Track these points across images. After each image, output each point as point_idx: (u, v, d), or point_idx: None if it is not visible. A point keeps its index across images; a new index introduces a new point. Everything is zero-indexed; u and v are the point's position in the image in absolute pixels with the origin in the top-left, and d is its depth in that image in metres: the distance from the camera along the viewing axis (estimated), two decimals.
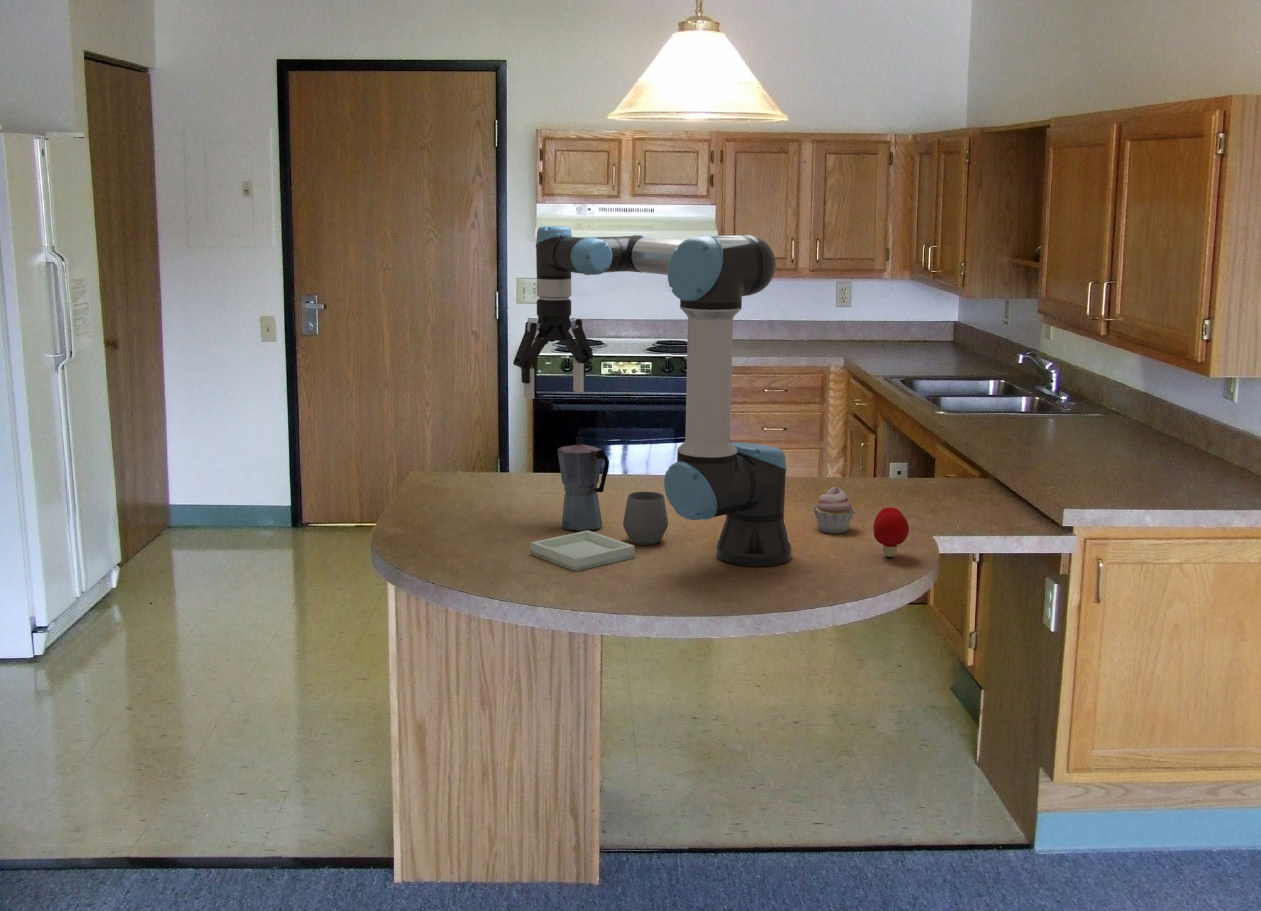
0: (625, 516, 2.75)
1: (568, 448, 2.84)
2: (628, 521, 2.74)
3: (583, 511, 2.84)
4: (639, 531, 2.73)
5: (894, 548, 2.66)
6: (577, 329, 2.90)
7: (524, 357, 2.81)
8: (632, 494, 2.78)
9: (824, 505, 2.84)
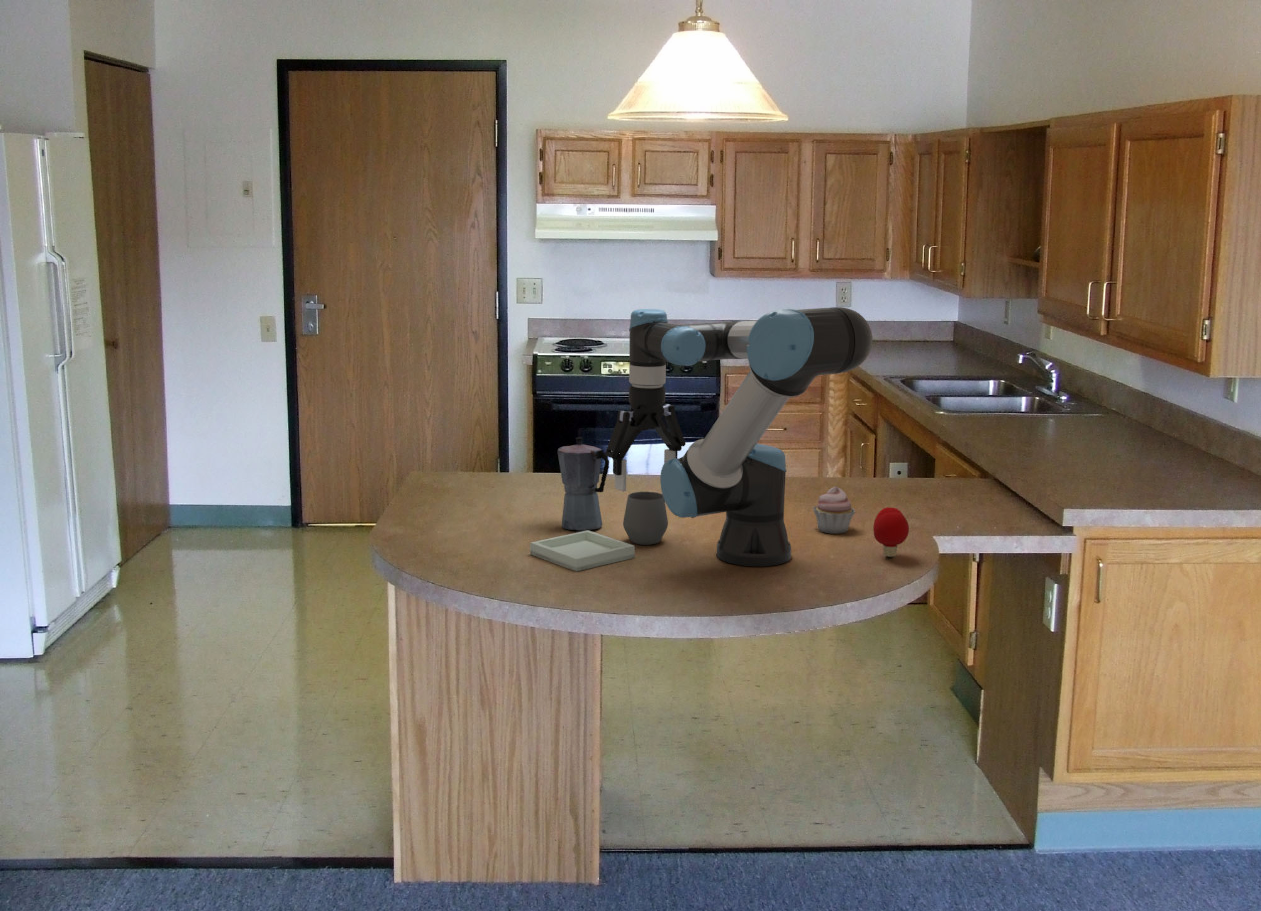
0: (625, 516, 2.75)
1: (568, 448, 2.84)
2: (628, 521, 2.74)
3: (583, 511, 2.84)
4: (639, 531, 2.73)
5: (894, 548, 2.66)
6: (670, 416, 2.75)
7: (617, 448, 2.67)
8: (632, 494, 2.78)
9: (824, 505, 2.84)
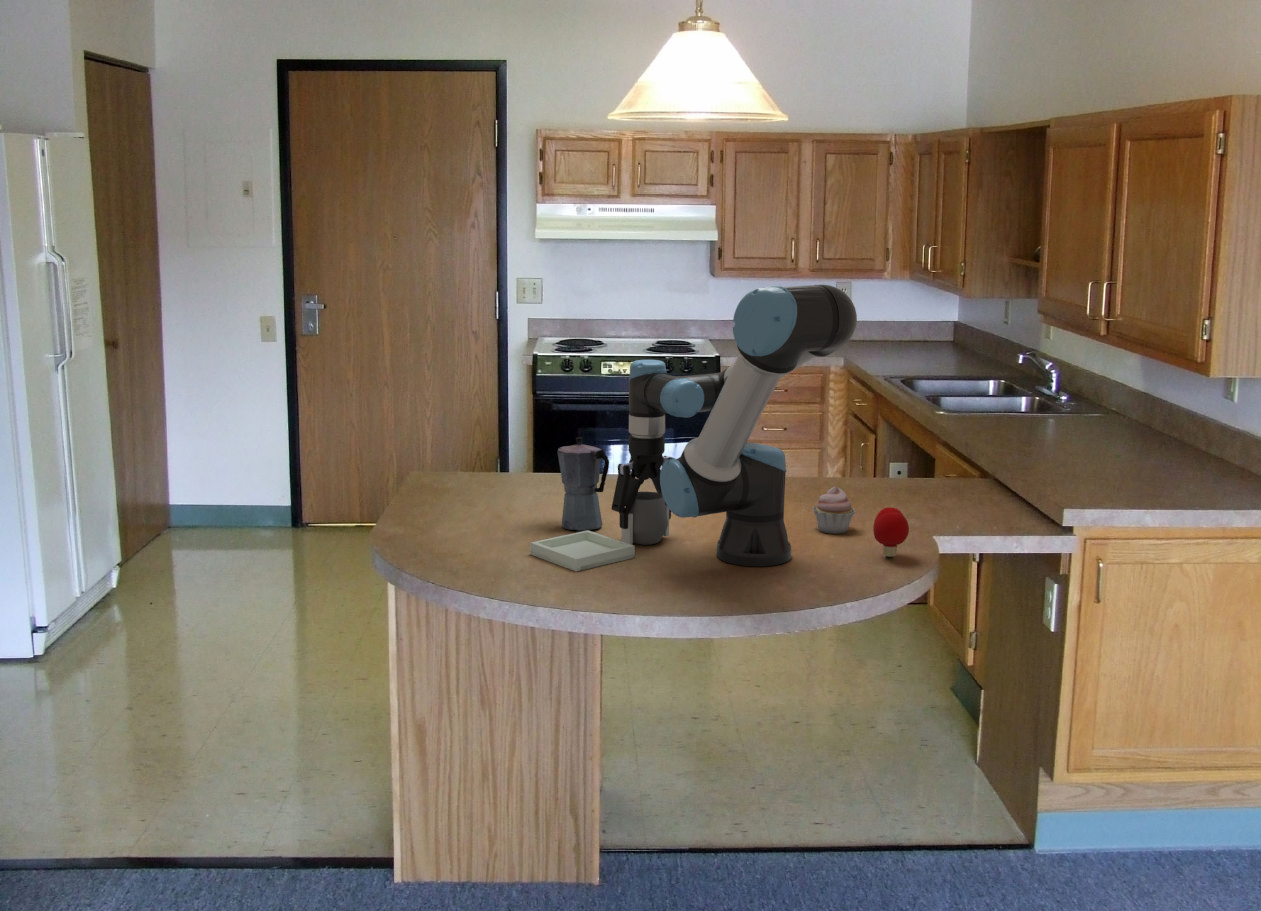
0: None
1: (568, 448, 2.84)
2: None
3: (583, 511, 2.84)
4: (639, 531, 2.73)
5: (894, 548, 2.66)
6: None
7: (622, 502, 2.70)
8: None
9: (824, 505, 2.84)
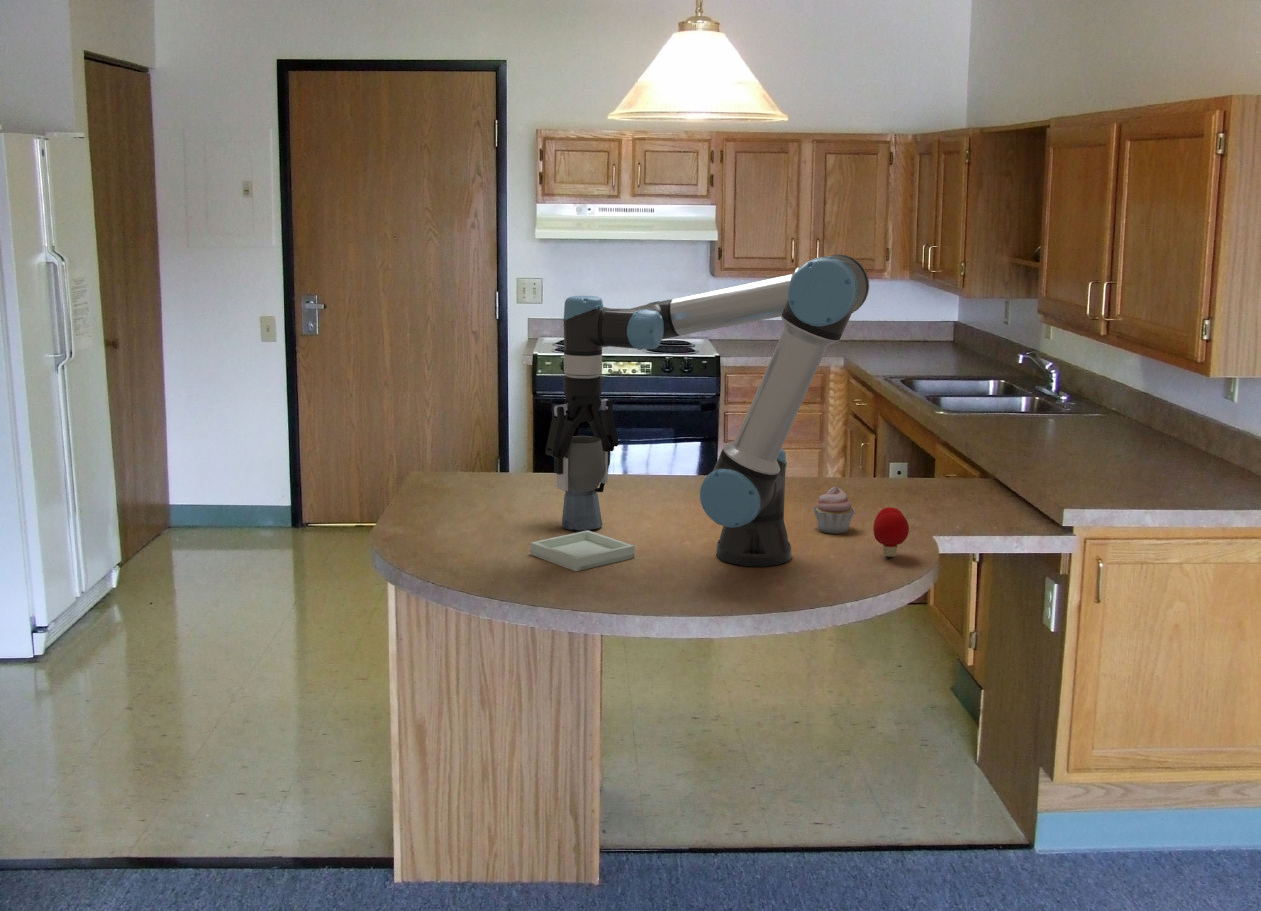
0: None
1: None
2: None
3: (583, 511, 2.84)
4: (574, 476, 2.59)
5: (894, 548, 2.66)
6: (606, 411, 2.64)
7: (556, 446, 2.56)
8: None
9: (824, 505, 2.84)
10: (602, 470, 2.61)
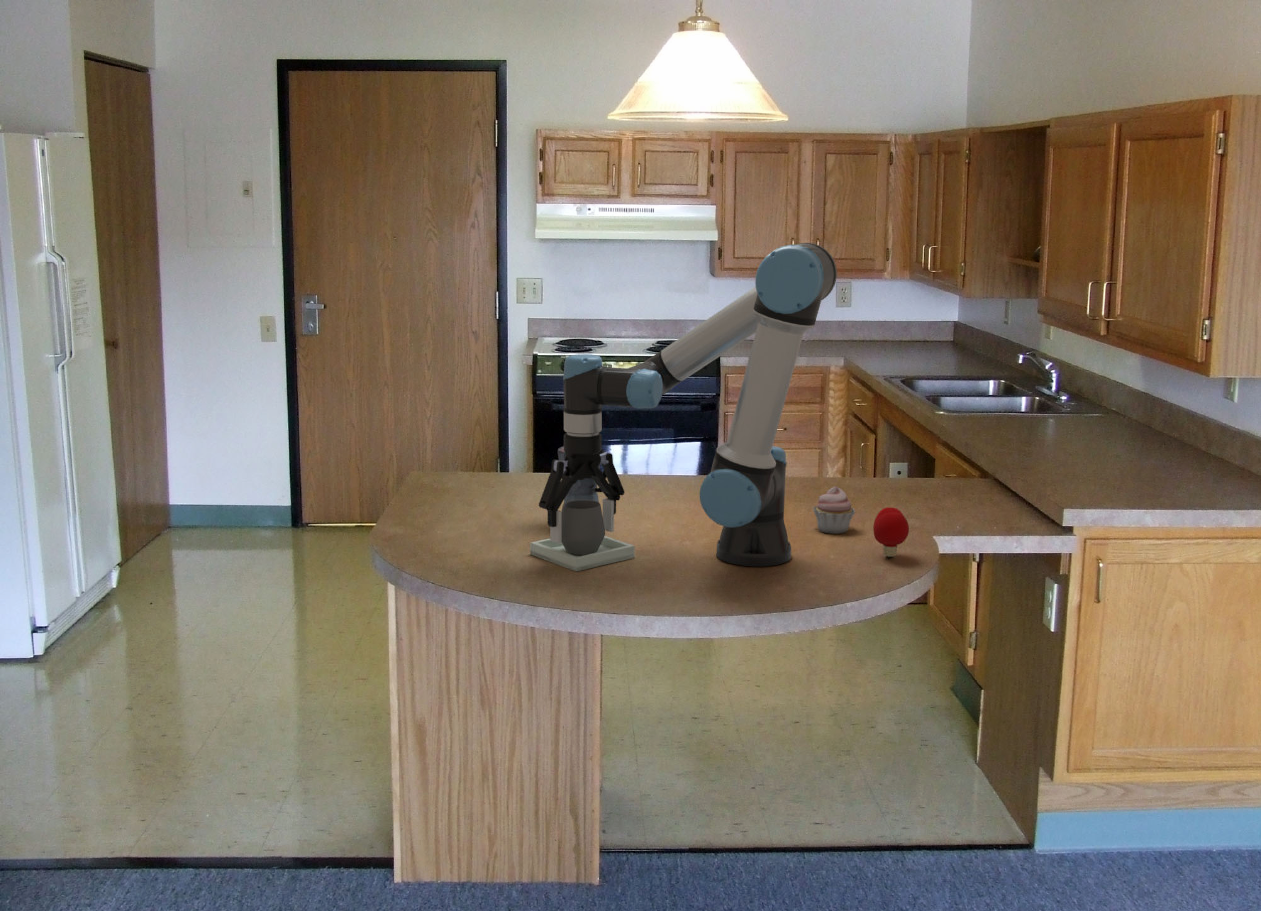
0: None
1: None
2: (563, 531, 2.63)
3: None
4: (574, 541, 2.62)
5: (894, 548, 2.66)
6: (607, 464, 2.66)
7: (551, 499, 2.58)
8: (568, 502, 2.67)
9: (824, 505, 2.84)
10: (602, 534, 2.64)
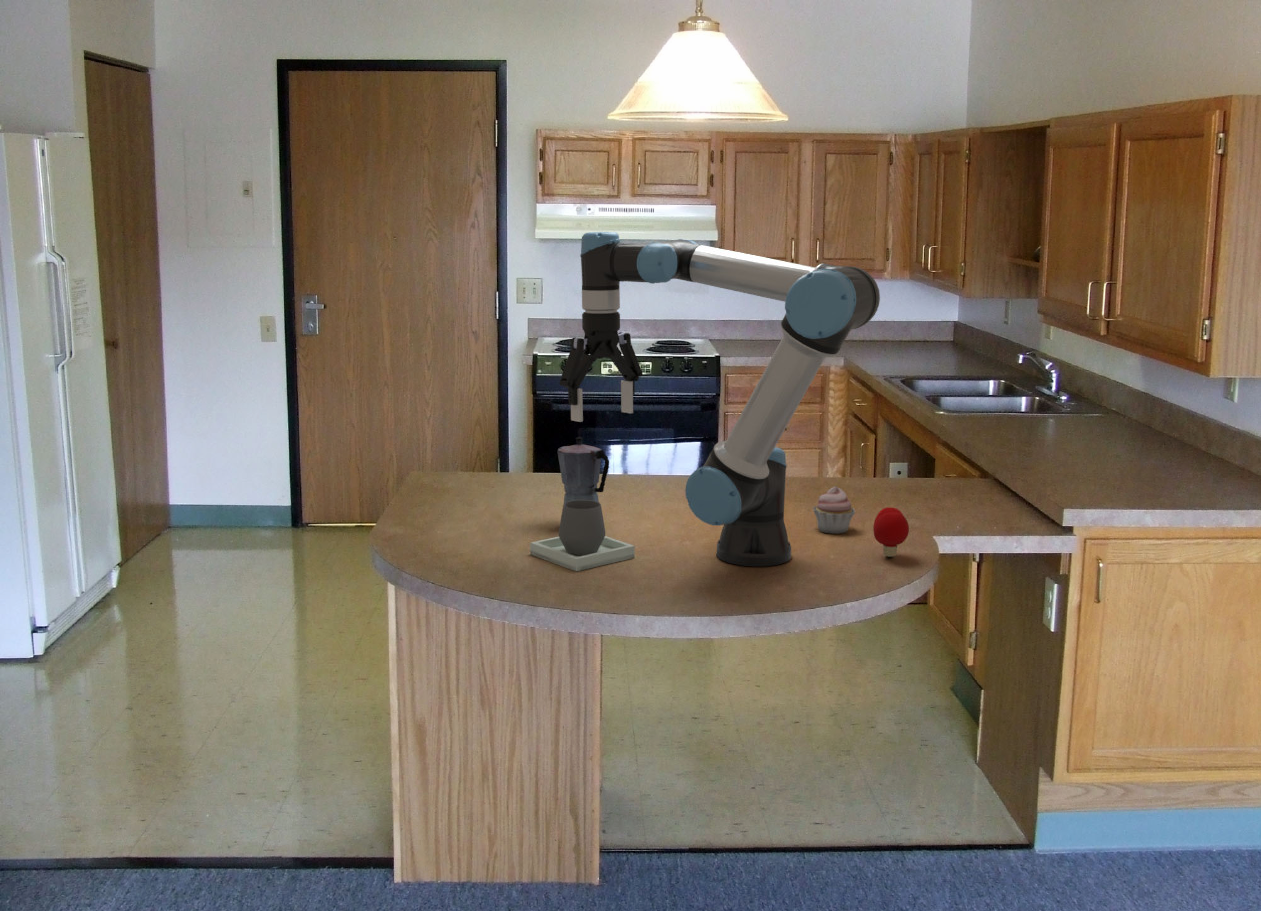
0: (560, 525, 2.64)
1: (568, 448, 2.84)
2: (563, 531, 2.63)
3: None
4: (574, 541, 2.62)
5: (894, 548, 2.66)
6: (625, 344, 2.66)
7: (572, 376, 2.56)
8: (568, 502, 2.67)
9: (824, 505, 2.84)
10: (602, 535, 2.64)
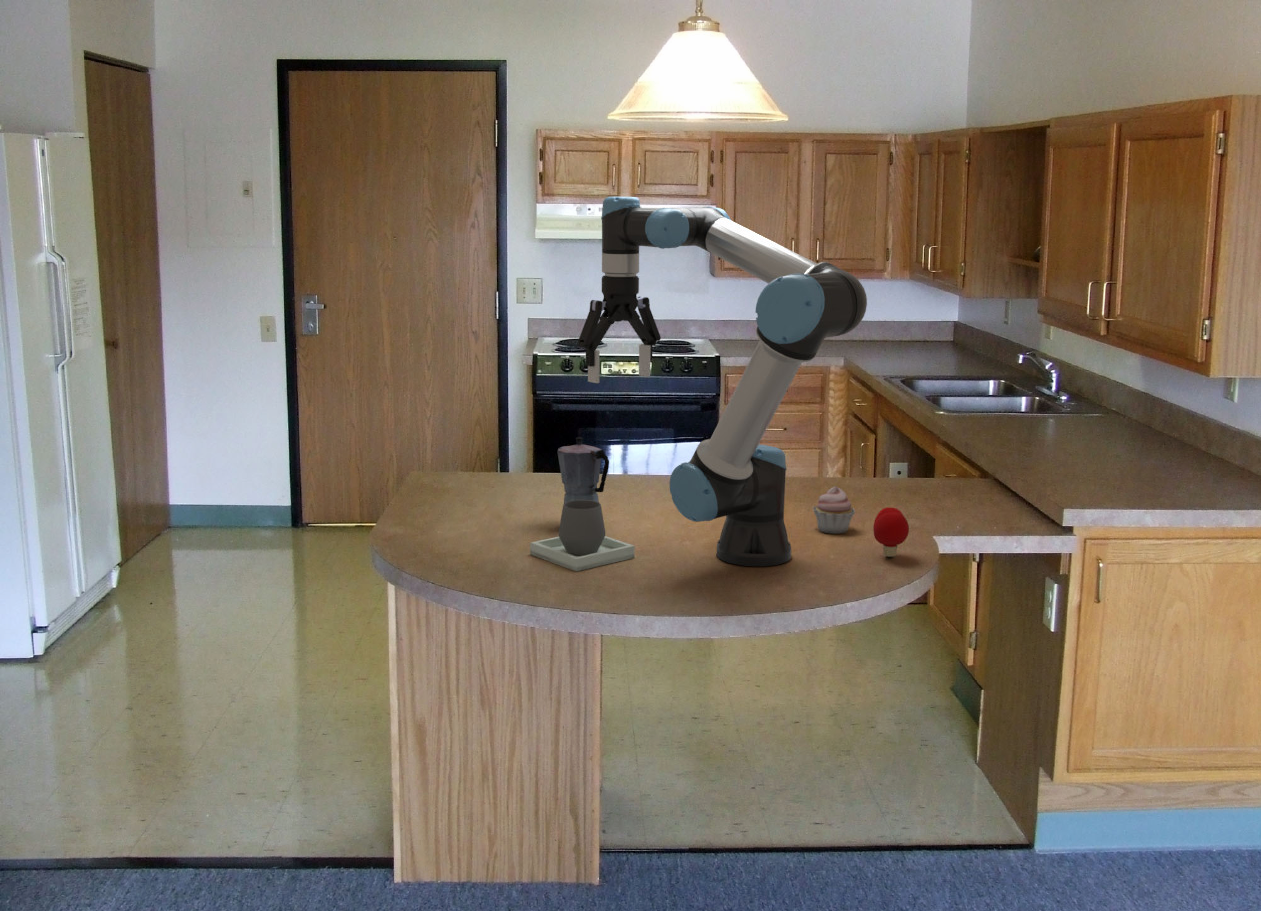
0: (560, 525, 2.64)
1: (568, 448, 2.84)
2: (563, 531, 2.63)
3: None
4: (574, 541, 2.62)
5: (894, 548, 2.66)
6: (644, 308, 2.70)
7: (589, 338, 2.61)
8: (568, 502, 2.67)
9: (824, 505, 2.84)
10: (602, 535, 2.64)
